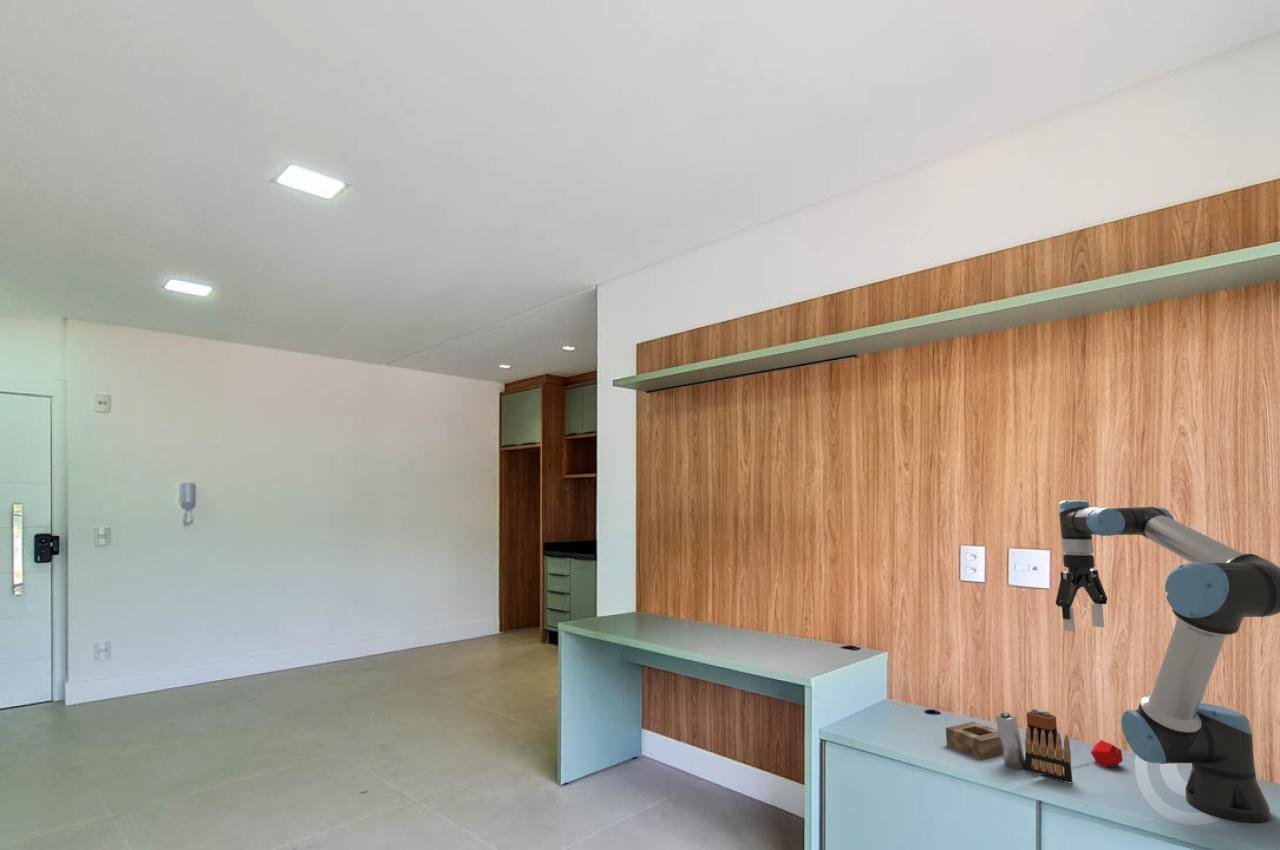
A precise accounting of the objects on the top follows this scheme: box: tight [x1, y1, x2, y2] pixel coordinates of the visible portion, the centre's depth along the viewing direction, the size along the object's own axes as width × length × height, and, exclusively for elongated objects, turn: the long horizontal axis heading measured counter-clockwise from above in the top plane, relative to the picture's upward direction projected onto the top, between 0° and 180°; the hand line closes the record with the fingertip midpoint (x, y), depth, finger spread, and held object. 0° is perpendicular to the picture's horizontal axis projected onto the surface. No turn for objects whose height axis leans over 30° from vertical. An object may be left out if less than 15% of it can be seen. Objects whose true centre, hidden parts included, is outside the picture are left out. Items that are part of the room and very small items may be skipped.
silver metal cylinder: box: [995, 712, 1025, 771], centre depth 181 cm, size 5×5×14 cm
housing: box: [945, 721, 1003, 760], centre depth 193 cm, size 12×12×6 cm
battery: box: [1025, 708, 1058, 748], centre depth 198 cm, size 4×7×10 cm, turn 33°
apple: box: [1090, 739, 1124, 767], centre depth 183 cm, size 7×7×8 cm
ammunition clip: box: [1024, 725, 1073, 783], centre depth 175 cm, size 11×2×12 cm, turn 52°
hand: (1084, 628), depth 188 cm, fingers open, 13 cm apart
